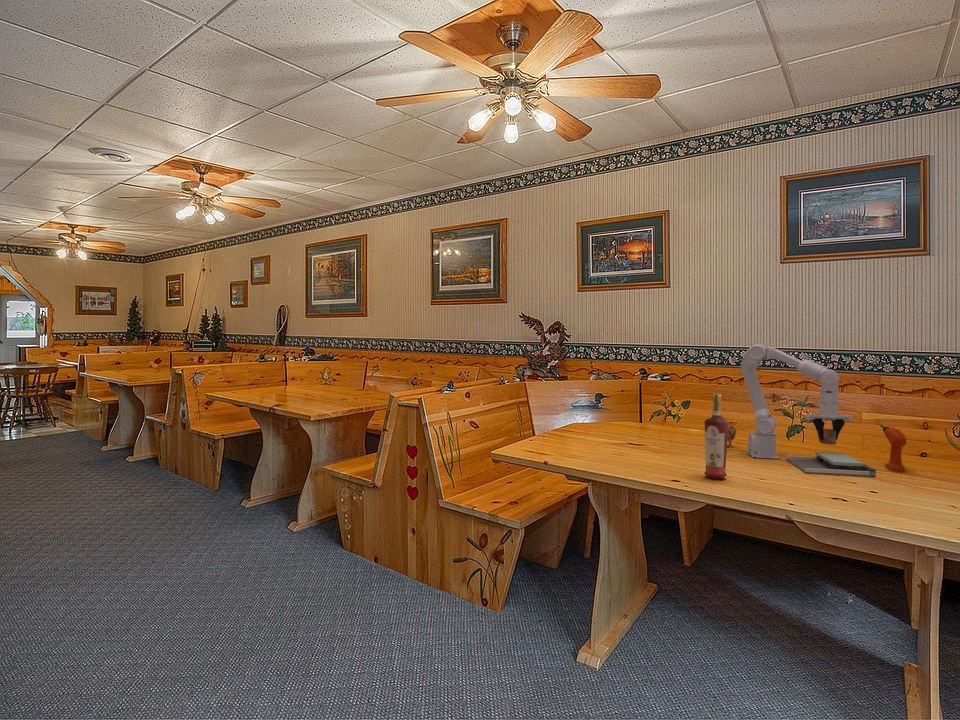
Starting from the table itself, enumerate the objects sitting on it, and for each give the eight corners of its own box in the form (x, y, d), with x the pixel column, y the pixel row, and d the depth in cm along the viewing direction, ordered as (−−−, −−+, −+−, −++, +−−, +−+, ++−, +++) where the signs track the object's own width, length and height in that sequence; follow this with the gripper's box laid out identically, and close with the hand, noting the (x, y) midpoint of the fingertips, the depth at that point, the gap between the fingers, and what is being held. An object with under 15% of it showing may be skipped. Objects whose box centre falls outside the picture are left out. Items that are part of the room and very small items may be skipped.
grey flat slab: (833, 471, 179) (833, 461, 179) (814, 460, 195) (815, 451, 194) (863, 473, 177) (863, 463, 177) (842, 461, 192) (842, 452, 192)
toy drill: (886, 456, 198) (889, 418, 195) (907, 475, 181) (911, 433, 178) (870, 455, 200) (874, 417, 197) (890, 474, 182) (894, 432, 180)
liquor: (730, 477, 175) (732, 394, 173) (722, 482, 170) (724, 396, 168) (708, 473, 180) (710, 392, 179) (699, 477, 175) (701, 394, 173)
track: (805, 473, 180) (805, 466, 180) (786, 460, 198) (786, 454, 198) (875, 477, 175) (875, 469, 175) (849, 463, 193) (850, 456, 193)
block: (823, 444, 192) (823, 430, 192) (819, 442, 196) (819, 428, 196) (835, 444, 191) (836, 431, 191) (831, 442, 195) (831, 429, 195)
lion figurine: (728, 444, 227) (729, 424, 226) (739, 447, 222) (739, 426, 221) (703, 447, 221) (703, 426, 221) (713, 450, 216) (713, 428, 216)
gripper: (811, 403, 190) (810, 440, 191) (856, 404, 187) (855, 442, 188) (803, 401, 197) (802, 437, 198) (847, 402, 194) (846, 438, 194)
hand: (827, 439), depth 193 cm, fingers closed on block, 4 cm apart
